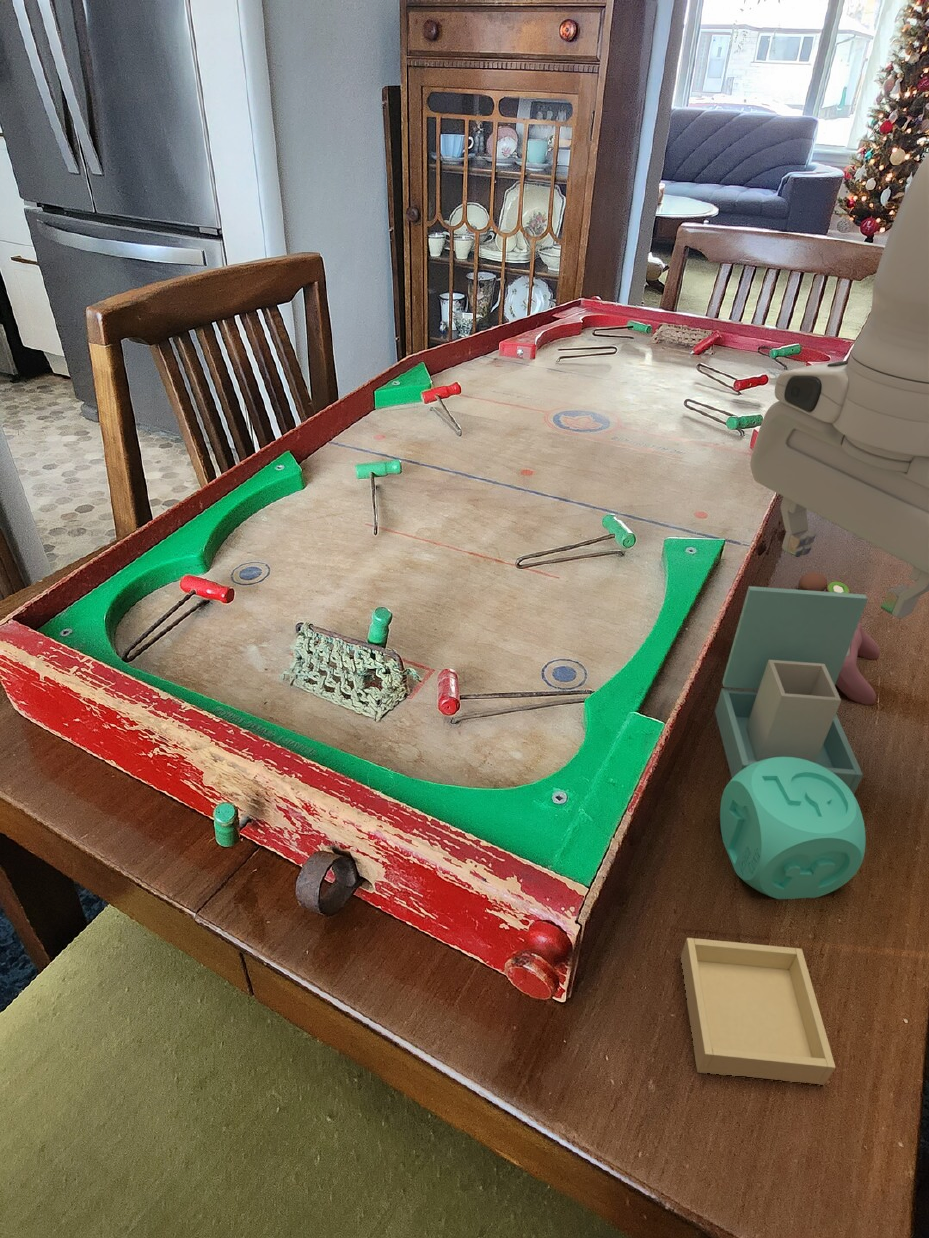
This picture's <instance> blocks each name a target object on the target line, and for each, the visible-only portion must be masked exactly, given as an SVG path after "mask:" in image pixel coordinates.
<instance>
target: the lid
mask: <svg viewBox="0 0 929 1238" xmlns="http://www.w3.org/2000/svg"><path fill="white" fill-rule="evenodd" d="M868 599H869V598H868V596H867V594H861V593H851V592H850V593H836V592H826V591H823V592H822V591H808V590H800V589H795V588H794V589H793V588H780V587H765V586H751V585H749V586H748V588H747V590H746V594H745V598H744V602H743V606H742V609H741V613H740V616H739V619H738V624H737V626H736V631H735V635H734V638H733V640H732V641H733V642H732V645H731V649H730V653H729V656H728V659H727V664H726V667H725V670H724V674H723V678H722V681H721V684H722V688H723V687H724V688H730V689H743V690H755V691H758V690H759V687H760V684H761V681H762V678H763V675H764V672H765V669H766V666H767V663H768V660H780V661H793V662H806V663H819V664H825V666H826V668H827V670H828V672H829V675H830V677H831V679H832V681H833V683H834V686H835V687H836V681H837V679H838V676H839V673H840V671H841V668H842V665H843V663H844V660H845V658H846V655H847V652H848V650H849V647H850V644H851V642H852V639H853V636H854V634H855V631H856V629H857V626H858V623H860V620H861V618H862V615H863V612H864V610H865V607H866V604H867V602H868Z"/></svg>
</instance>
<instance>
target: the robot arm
mask: <svg viewBox="0 0 929 1238" xmlns="http://www.w3.org/2000/svg"><path fill="white" fill-rule="evenodd" d="M874 275H875V276H874V279H873V283H872V299H871V301H872V302H871V308H870V313H869V316H868V320H867V321H866V324H865V326H864V327H863V329H862V331H861V332H860V334H859V335H858V337H857V338H856V340H855V342H854V343H853V346H852V348H851V352H850V354H849V357H848V360H842V361H841V360H839V361H830V362H823V363H822V362H821V363H816V364H811V365H810V364H809V365H806V366H801V367H796V368H793V369H789V370H786V371H783V372H780V373H779V375H778V376H777V379H776V381H775V385H774V396H775V399H776V400H777V401H776V402H774V403H773V404H772V405H770V406H769V408H768V409H767V410H766V412H765V414H764V416H763V417H762V421H761V424H760V426H759V429H758V431H757V435H756V438H755V442H754V445H753V449H752V452H751V457H750V462H749V466H750V471H751V475H752V477H753V478H752V479H753V480H754V481H755V482H756V483H757V484H760V485H761V486H763V487H765V488H767V489H769V490H771V491H772V492H774V493H776V494H777V495H780V496H782V499H781V504H780V507H779V508H780V512H781V517H782V522H783V526H784V531H785V535H784V537H783V541H782V545H781V549H782V550H783V551H785V552H787V553H789V554H790V555H791V556H793V557H795V558H800V557H801V556H806V555H809V553H810V552H811V550H812V547H813V545H812V543H814V542H815V538H816V535H817V534H815V533H813V532H812V531H810V530H809V524H808V513H807V512H808V511H809V512H811V513H813V514H815V515H817V516H818V517H820V518H823V519H824V520H826V521H828V522H830V523H832V524H834V525H835V526H837V527H839V528H841V529H843V530H845V531H846V532H848V533H850V534H852V535H854V536H856V537H857V538H860V539H861V540H864V541H865V542H867V543H869V544H871V545H872V546H874V547H876V548H878V549H880V550H882V551H884V552H885V553H887V554H889V555H891V556H893V557H895V558H897V559H898V560H900V561H902V562H904V563H906V564H907V565H909V566H911V567H913V568H912V570H911V573H910V575H909V579H910V580H912V581H914V582H915V583H914V584H912V585H911V586H908V585H906V584H904V583H902V584H900V585H897V586H896V587H891V588H889V589H887V590H886V591H885V592H886V593H885V595H884V597H883V598H884V601H883V602H881V605H880V609H882V610H883V611H885V612H887V613H888V614H889V615H891V616H893V617H895V618H896V619H898V620H901V619H903V618H906V617H909V616H910V615H911V614H912V613H913V612H914V610H915V609H916V607H917V604H918V602H919V599H920V597H921V596H924V594H926V593H928V592H929V152H928V153H927V155H926V156H925V157H924V158H923V160H922V162H921V163H920V165H919V167H918V168H917V170H916V172H915V173H914V175H913V177H912V179H911V181H910V183H909V185H908V187H907V189H906V191H905V193H904V196H903V198H902V201H901V202H900V205H899V207H898V209H897V213H896V215H895V217H894V219H893V223H892V225H891V228H890V231H889V233H888V236H887V240H886V242H885V245H884V247H883V251H882V254H881V257H880V260H879V263H878V266H877V269H876V272H875V274H874ZM807 510H808V511H807Z"/></svg>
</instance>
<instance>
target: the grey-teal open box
mask: <svg viewBox="0 0 929 1238" xmlns="http://www.w3.org/2000/svg"><path fill="white" fill-rule="evenodd" d="M757 693H758V690H751V689H738V688H725V687H724V688H723V687H722V688H721V689H720V694H719V696H718V699H717V702H716V707H715V711H714V714H715V718H716V721H717V725H718V729H719V733H720V737H721V741H722V745H723V749H724V753H725V757H726V761H727V764H728V769H729V773H730V777H731V779H732V778H733V777H734V776H735V775H736V774H737V773H739V772H740V771H741V770H743V769H744V768H746V767H747V766H749V765H751V764H753V763H756V760H755V756H754V753H753V750H752V746H751V743H750V739H749V736H748V733H747V729H746V726H747V723H748V720H749V717H750V714H751V711H752V708H753V705H754V702H755V699H756V696H757ZM857 760H858V759H857V758H856V756H855V753H854V751H853V749H852V747H851V744H850V742H849V739H848V738H847V734H846V733H845V730H844V728H843V726H842V723H841V722H840V719H839V716H838V714H836V715H835V717H834V719H833V722H832V724H831V727H830V729H829V731H828V734H827V736H826V739H825V741H824V743H823V746H822V748H821V751H820V753H819V755H818V758H817V760H816V764H818V765H820V766H822V767H824V768H826V769H828V770H829V771H831V772H832V773H834V774H835V775H836V776H838V777H839V778H840V779H841V780H842V781H843V782H844V783H845V784H846V785H847V786H848V787H849V789H850V790H851V791H852V793H853V795H854V796H855V793H856V791H857V789H858V787H859V784H860V783H861V781H862V778H863V776H864V774H863V772H862V770H861V767H860V765H859V762H858V761H857Z"/></svg>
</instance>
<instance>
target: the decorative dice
mask: <svg viewBox="0 0 929 1238" xmlns="http://www.w3.org/2000/svg"><path fill="white" fill-rule="evenodd" d="M719 822H720V824H719V825H720V832H721V840H722V844H723V845H724V848H725V850H726V853H727V855H728V858H729V860H730V862H731V865H732V867H733V869H734V872H735V874H736V875H737V876H738V877H739V878H740V879H741V880H742V881H743V882H744V883H746V885H748V886H750V887H751V888H752V889H753V890H756V891H757V892H758V893H761V894H763V895H765V896H767V897H770V898H774V899H776V900H793V899H794V900H795V899H813V898H820V897H822V896H825V895H828V894H830V893H832V892H834V891H836V890H838V889H839V888H842V887H843V886H844V885H846V884H847V883H848V882H850V881H851V879H852V878H853V877H854V876H855V875H856V874H857V873H858V871H859V869H860V868H861V866H862V864H863V861H864V857H865V853H866V842H867V841H866V839H867V837H866V826H865V821H864V817H863V813H862V811H861V807H860V805H859V803H858V800H857V798H856V796H855V794H854V795H853V793H852V791H851V790H850V789H849V787H848V786H847V785H846V784H845V783H844V782H843V781H842V780H841V779H840V778H839V777H838V776H836V775H835V774H834V773H832V772H831V771H829V770H828V769H826V768H824V767H822V766H820V765H818V764H816V763H814V762H811V761H808V760H804V759H800V758H794V757H774V758H768V759H764V760H761V761H758V762H756V763H753V764H751V765H749V766H747V767H746V768H744V769H743V770H741V771H740V772H739V773H737V774H736V775H735V776H734V777H733V778H732V777H731V779H730V780H729V782H728V783H727V784H726V786H725V787H724V789H723V791H722V795H721V799H720V809H719Z"/></svg>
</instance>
